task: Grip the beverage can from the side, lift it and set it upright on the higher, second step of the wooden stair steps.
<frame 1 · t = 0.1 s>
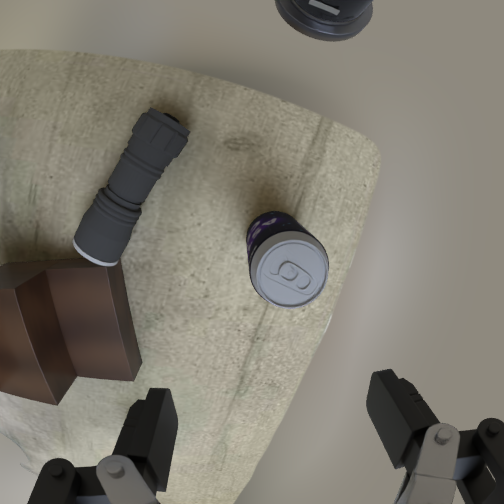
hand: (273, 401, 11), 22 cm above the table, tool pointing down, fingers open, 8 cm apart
flashlight: (137, 187, 30), on the table
beverage can: (273, 237, 32), on the table
wooden stair steps: (34, 311, 33), on the table
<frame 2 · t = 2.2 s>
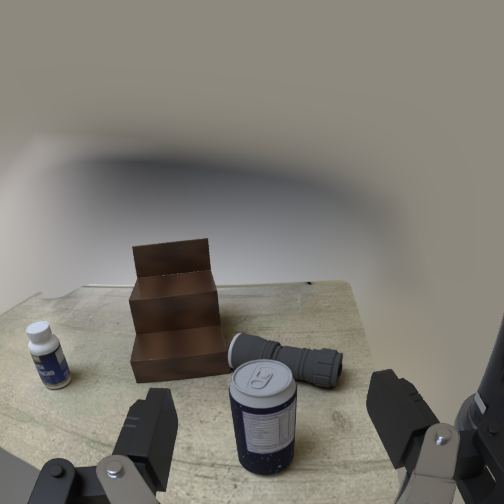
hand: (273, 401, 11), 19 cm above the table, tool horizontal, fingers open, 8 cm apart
flashlight: (284, 376, 41), on the table
beverage can: (266, 459, 27), on the table
wooden stair steps: (181, 330, 55), on the table
pill bottle: (58, 381, 38), on the table
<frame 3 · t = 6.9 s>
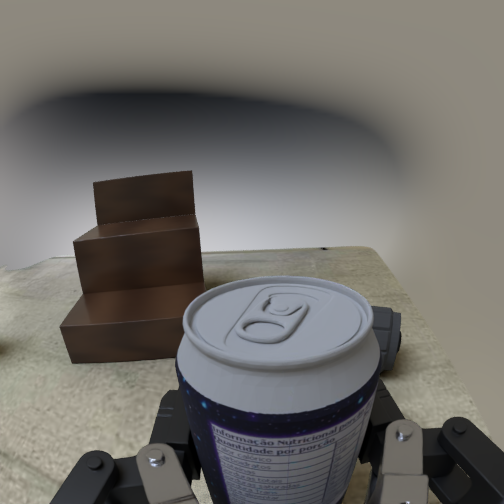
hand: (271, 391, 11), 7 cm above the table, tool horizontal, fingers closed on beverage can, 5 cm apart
flashlight: (302, 358, 25), on the table
wooden stair steps: (152, 297, 40), on the table
when the fingers open (17 cm above the table, at t = 15.3 s): beverage can stays where it is, resting on wooden stair steps.
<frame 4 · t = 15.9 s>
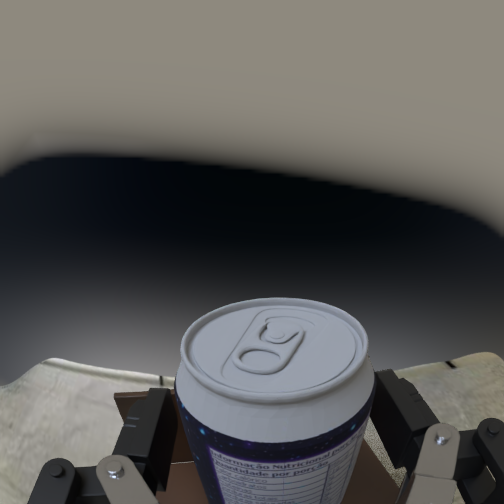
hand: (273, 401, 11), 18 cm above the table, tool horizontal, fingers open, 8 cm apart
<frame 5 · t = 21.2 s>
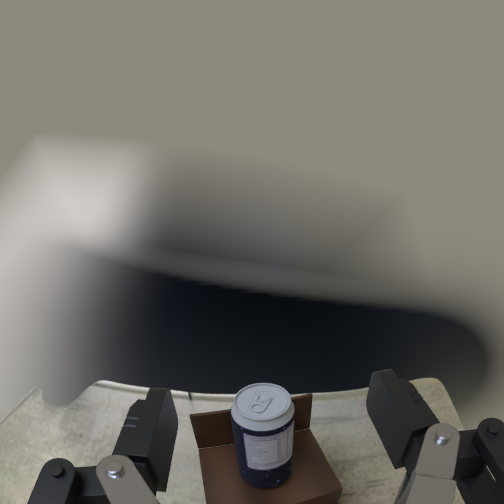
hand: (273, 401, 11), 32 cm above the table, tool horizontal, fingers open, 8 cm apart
beverage can: (265, 473, 27), point 10 cm above the table, touching wooden stair steps
wooden stair steps: (263, 496, 32), on the table
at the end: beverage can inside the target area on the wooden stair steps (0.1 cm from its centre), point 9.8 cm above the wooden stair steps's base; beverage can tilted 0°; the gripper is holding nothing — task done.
